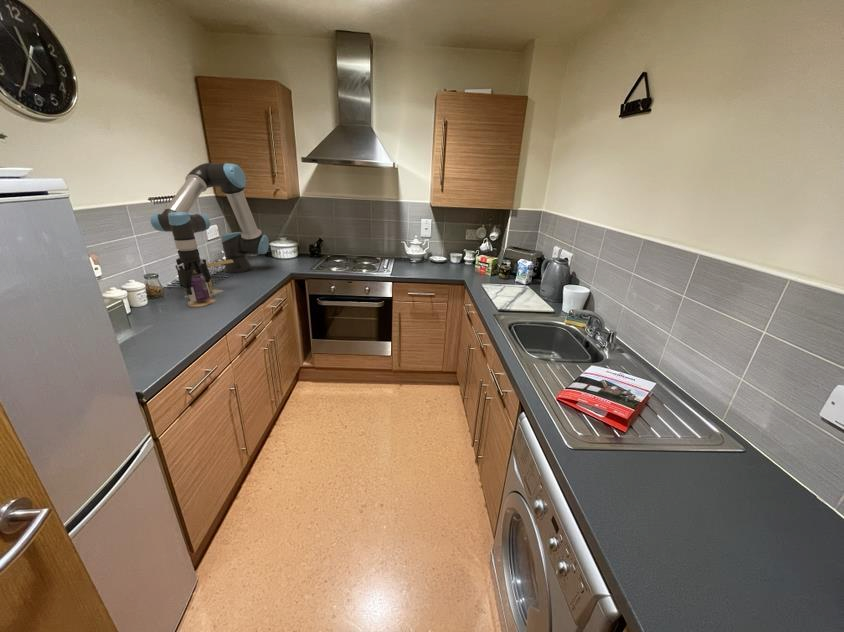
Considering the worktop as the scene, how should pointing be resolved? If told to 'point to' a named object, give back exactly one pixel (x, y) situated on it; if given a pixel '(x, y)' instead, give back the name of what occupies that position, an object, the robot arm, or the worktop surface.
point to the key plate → (212, 293)
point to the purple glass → (199, 286)
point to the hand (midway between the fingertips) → (200, 298)
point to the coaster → (201, 303)
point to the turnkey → (215, 265)
